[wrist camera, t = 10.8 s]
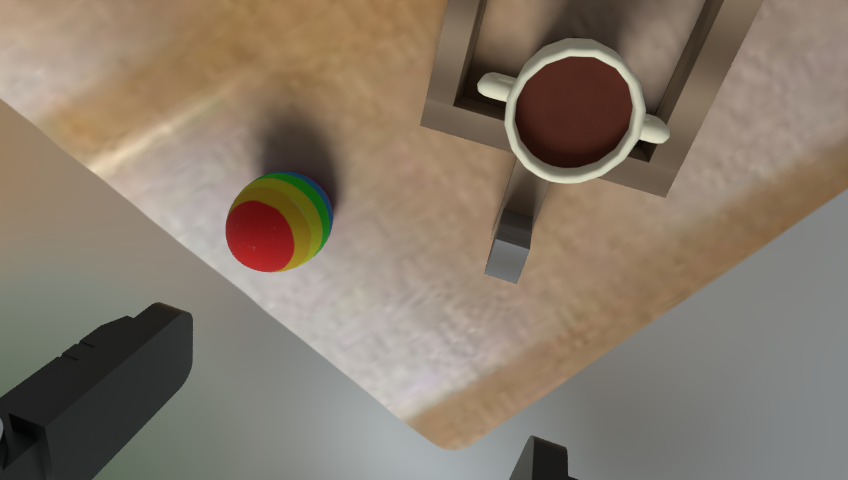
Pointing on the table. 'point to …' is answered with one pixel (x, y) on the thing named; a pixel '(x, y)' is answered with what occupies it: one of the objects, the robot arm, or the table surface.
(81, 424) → the robot arm
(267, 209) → the decorative egg
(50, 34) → the table surface
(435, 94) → the frame
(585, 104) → the character mug
